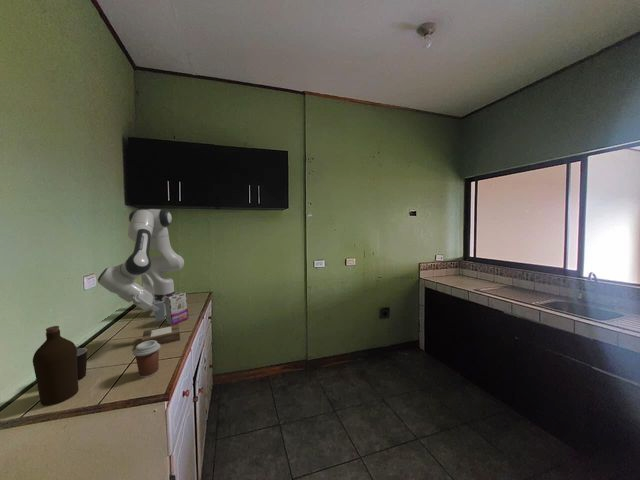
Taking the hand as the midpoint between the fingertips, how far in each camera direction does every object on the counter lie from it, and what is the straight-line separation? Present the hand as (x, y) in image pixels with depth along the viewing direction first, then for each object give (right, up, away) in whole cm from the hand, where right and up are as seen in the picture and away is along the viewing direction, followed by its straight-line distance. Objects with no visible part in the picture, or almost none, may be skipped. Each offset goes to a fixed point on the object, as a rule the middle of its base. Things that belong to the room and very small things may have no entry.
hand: (158, 308), depth 131 cm
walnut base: (+1, -16, +1) cm, 16 cm away
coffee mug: (-15, -19, -30) cm, 39 cm away
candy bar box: (-4, -15, +25) cm, 30 cm away
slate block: (+1, -6, +1) cm, 6 cm away
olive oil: (-8, -20, -41) cm, 47 cm away
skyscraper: (-40, -14, +53) cm, 68 cm away
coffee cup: (+15, -18, -29) cm, 37 cm away
